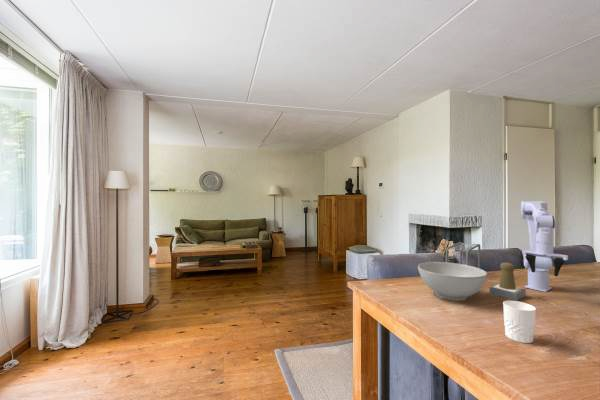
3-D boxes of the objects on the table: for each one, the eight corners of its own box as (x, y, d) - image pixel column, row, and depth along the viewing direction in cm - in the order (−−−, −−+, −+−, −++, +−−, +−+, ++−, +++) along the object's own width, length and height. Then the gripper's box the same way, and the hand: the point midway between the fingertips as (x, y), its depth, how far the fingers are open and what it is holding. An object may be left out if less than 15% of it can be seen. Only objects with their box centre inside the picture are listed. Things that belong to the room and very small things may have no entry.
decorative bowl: (492, 295, 120) (492, 268, 120) (480, 313, 100) (480, 281, 100) (428, 282, 138) (428, 259, 138) (408, 296, 119) (408, 268, 119)
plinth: (499, 289, 128) (499, 282, 128) (525, 296, 119) (525, 288, 119) (489, 293, 122) (489, 286, 122) (516, 300, 114) (516, 292, 114)
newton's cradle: (468, 286, 133) (468, 250, 133) (445, 281, 140) (445, 247, 140) (480, 274, 155) (480, 243, 155) (459, 270, 162) (460, 241, 162)
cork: (518, 290, 117) (518, 265, 117) (503, 289, 118) (503, 264, 118) (511, 285, 123) (511, 261, 123) (496, 284, 124) (496, 261, 124)
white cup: (496, 332, 86) (496, 300, 86) (519, 331, 87) (519, 300, 87) (518, 345, 79) (518, 311, 79) (543, 344, 79) (543, 310, 79)
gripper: (520, 241, 121) (520, 271, 121) (564, 245, 109) (564, 279, 109) (526, 240, 125) (526, 269, 125) (569, 244, 113) (569, 276, 113)
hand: (544, 273), depth 117 cm, fingers open, 7 cm apart
